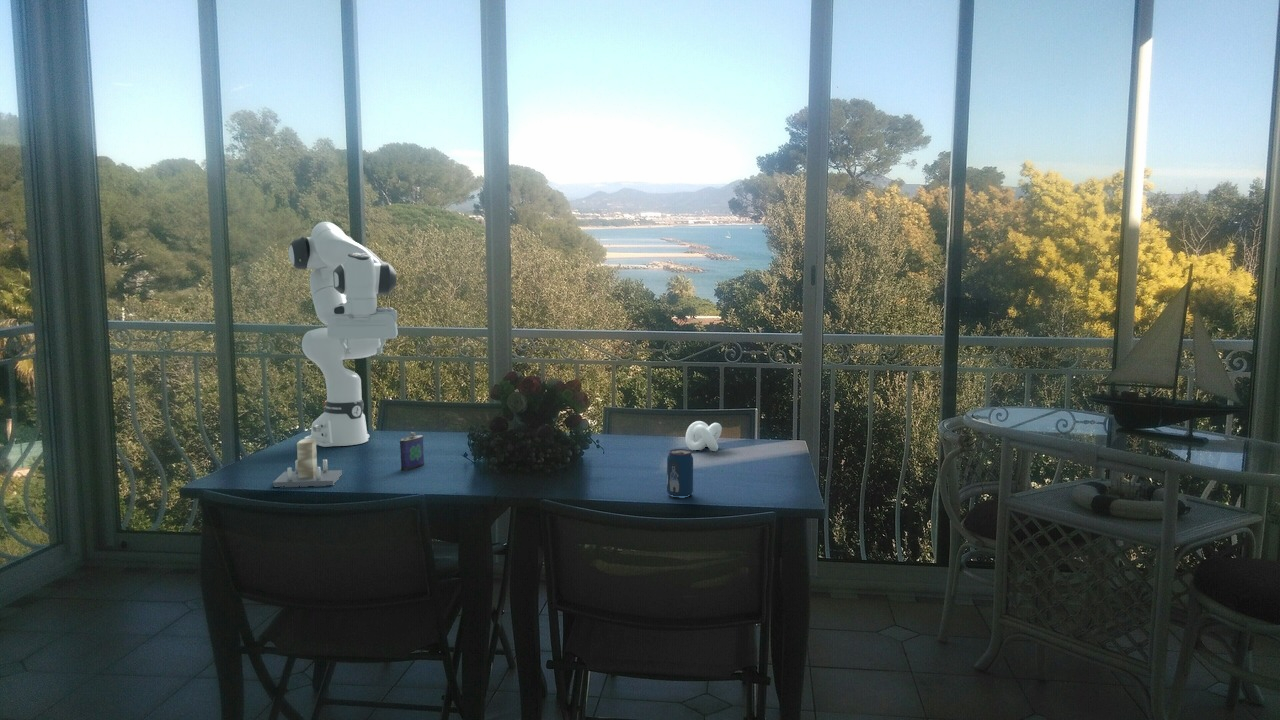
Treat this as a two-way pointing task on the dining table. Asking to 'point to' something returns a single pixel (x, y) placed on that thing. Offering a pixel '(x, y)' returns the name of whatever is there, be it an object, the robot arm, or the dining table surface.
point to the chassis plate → (320, 479)
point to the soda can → (680, 472)
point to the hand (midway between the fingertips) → (363, 353)
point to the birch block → (307, 458)
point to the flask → (412, 451)
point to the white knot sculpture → (703, 436)
